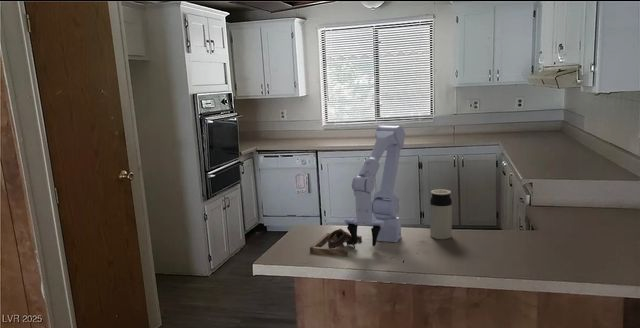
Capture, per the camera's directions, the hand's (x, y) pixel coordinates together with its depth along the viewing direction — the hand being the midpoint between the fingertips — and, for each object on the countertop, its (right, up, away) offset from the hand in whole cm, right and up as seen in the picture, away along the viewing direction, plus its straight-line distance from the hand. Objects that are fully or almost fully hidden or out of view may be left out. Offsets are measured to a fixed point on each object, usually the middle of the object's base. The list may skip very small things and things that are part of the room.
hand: (364, 244), depth 172 cm
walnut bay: (-10, -2, +4) cm, 11 cm away
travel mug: (+31, +1, +11) cm, 33 cm away
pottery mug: (-8, -2, +3) cm, 9 cm away
